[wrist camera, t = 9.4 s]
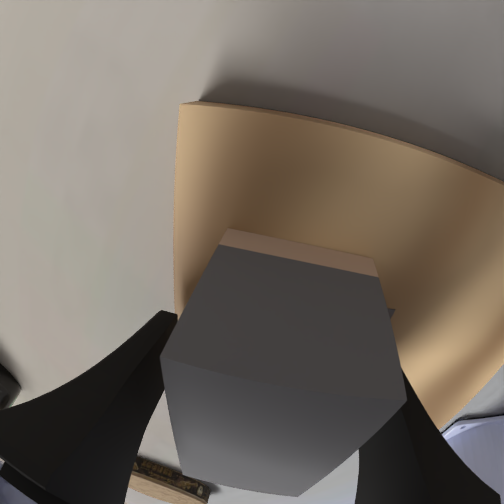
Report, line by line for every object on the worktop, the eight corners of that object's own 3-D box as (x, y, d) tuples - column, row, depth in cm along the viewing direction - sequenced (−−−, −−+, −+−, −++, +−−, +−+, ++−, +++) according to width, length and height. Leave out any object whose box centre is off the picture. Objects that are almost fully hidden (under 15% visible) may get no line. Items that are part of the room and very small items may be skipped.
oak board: (564, 215, 8) (582, 231, 6) (429, 416, 15) (433, 434, 14) (197, 101, 9) (179, 104, 7) (189, 385, 16) (181, 406, 15)
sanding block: (373, 258, 9) (407, 400, 4) (307, 399, 13) (297, 496, 9) (227, 228, 9) (159, 356, 5) (213, 380, 13) (182, 475, 9)
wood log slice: (155, 485, 38) (150, 498, 36) (86, 442, 32) (79, 457, 30) (232, 495, 33) (228, 512, 30) (158, 455, 27) (150, 476, 24)
